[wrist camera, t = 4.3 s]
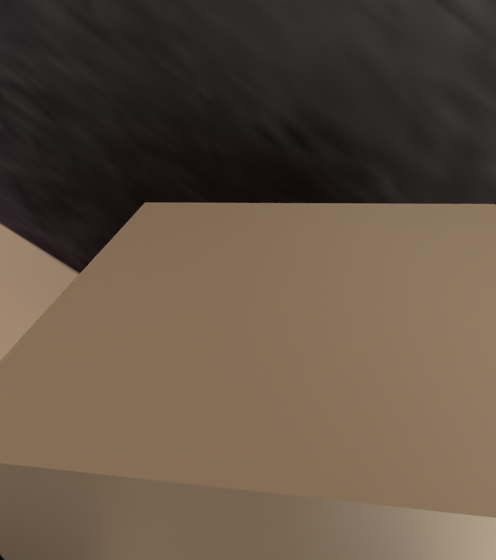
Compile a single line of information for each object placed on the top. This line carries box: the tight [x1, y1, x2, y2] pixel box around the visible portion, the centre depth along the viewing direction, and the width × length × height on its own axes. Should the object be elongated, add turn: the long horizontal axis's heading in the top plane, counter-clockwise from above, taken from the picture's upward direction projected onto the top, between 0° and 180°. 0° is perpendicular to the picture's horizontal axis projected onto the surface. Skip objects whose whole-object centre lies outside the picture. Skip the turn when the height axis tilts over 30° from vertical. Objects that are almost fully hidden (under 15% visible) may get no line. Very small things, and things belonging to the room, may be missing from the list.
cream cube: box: [0, 203, 496, 560], centre depth 8 cm, size 8×8×7 cm
